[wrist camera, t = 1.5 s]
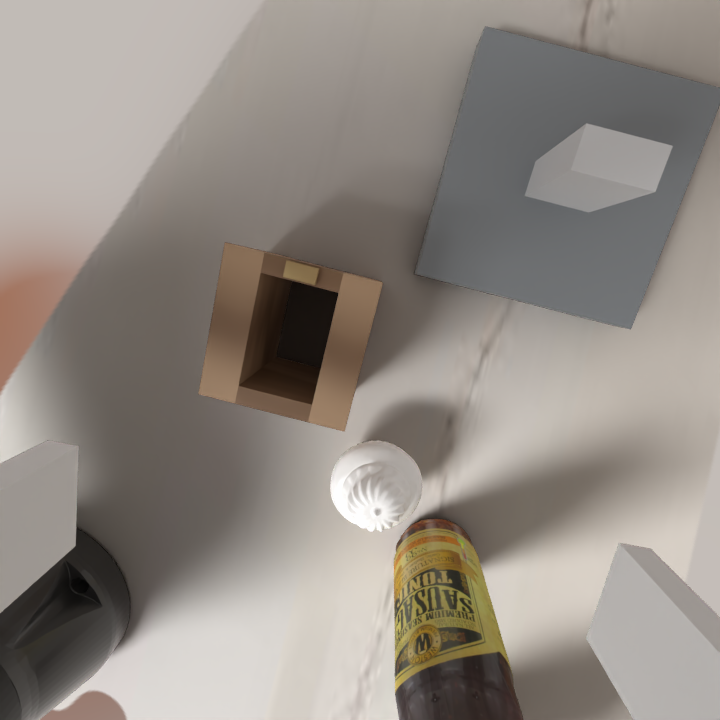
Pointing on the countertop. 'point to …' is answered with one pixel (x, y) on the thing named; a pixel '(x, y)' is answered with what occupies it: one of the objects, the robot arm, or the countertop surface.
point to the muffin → (376, 485)
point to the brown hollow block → (263, 330)
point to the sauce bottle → (447, 631)
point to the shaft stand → (563, 177)
